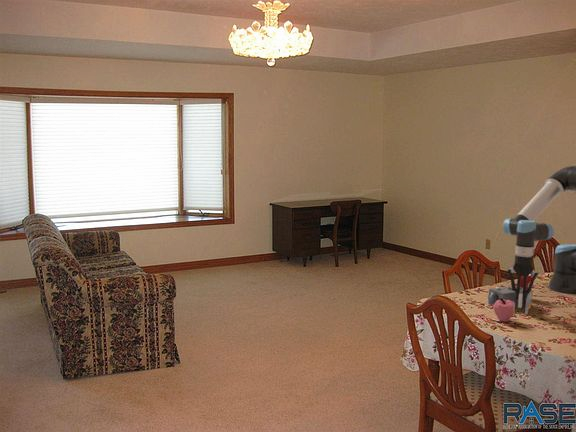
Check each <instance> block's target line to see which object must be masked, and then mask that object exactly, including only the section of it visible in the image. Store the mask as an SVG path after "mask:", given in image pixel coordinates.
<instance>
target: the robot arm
mask: <svg viewBox="0 0 576 432" xmlns="http://www.w3.org/2000/svg"><path fill="white" fill-rule="evenodd" d="M567 191H574V192H575V193H576V165H569V166H566V167H562V168H560V169H558V170H557V171H555V172H553V174H551V175H550V176H549V177H548V178H547V179H546V180H545V181H544V185H543V186H542V187H541V189H540V190H539V191H538V192H537V193H536V194H535V195H534V196H533V197H532V198H531V199H530V201H529V202H527V203H526V205H525V206H524V207H523V208H522V209H520V211H519V212H518V213H517V214H516V215H515V216H514V218H512V217H509V218H505V220H504V221H503V223H502V229H503V230H502V231H503V232H504V233H505V234H507V235H509V236H514V237H516V241H515V255H514V263H513V266H512V267H510V268H508V269H507V273H508V275H509V278H510V279H509V280H510V284H511V285H510V286H512V290H513V291H515V292H516V300H518V307H517V308H519V309H522V308H523V306H522V302H523V301H525V298H526V293H530V291H531V290H532V289H533V285H534V283H535V280H536V278H537V276H538V275H539V272H538V271H536V270H534V266H533V264H534V253H535V242H539V241H547V240H550V239H552V238H553V236H554V234H555V229H554V226H553V225H551V224H550V223H549V222H546V223H545V222H542V223H539V222H536V220H537V218H538V217H539V216H540V215H541V214H542V213H543V212H544V210H545V209H547V207H549V205H550V204H551V203H553V201H554V200H555V199H556V198H557V197H558V196H560V195H562V194H564V192H567ZM553 263H554V264H553V265H554V266H553V274H552V275H551V278H550V280H549V281H548V282H549V283H548V288H549V289H550V290H552V291H556V292H559V293H565V294H576V244H571V243H570V244H568V243H566V244H559V245H557V246H556V248H555V252H554V262H553ZM514 272H515V274H516V276H517V281H515V276H514ZM529 274H531V276H532V279H531V282H530V285H529V287H528V290H526V287H527V276H528V275H529ZM521 276H524V282H523V292H520V284H521ZM516 286H517V288H516ZM531 288H532V289H531Z"/></svg>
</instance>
